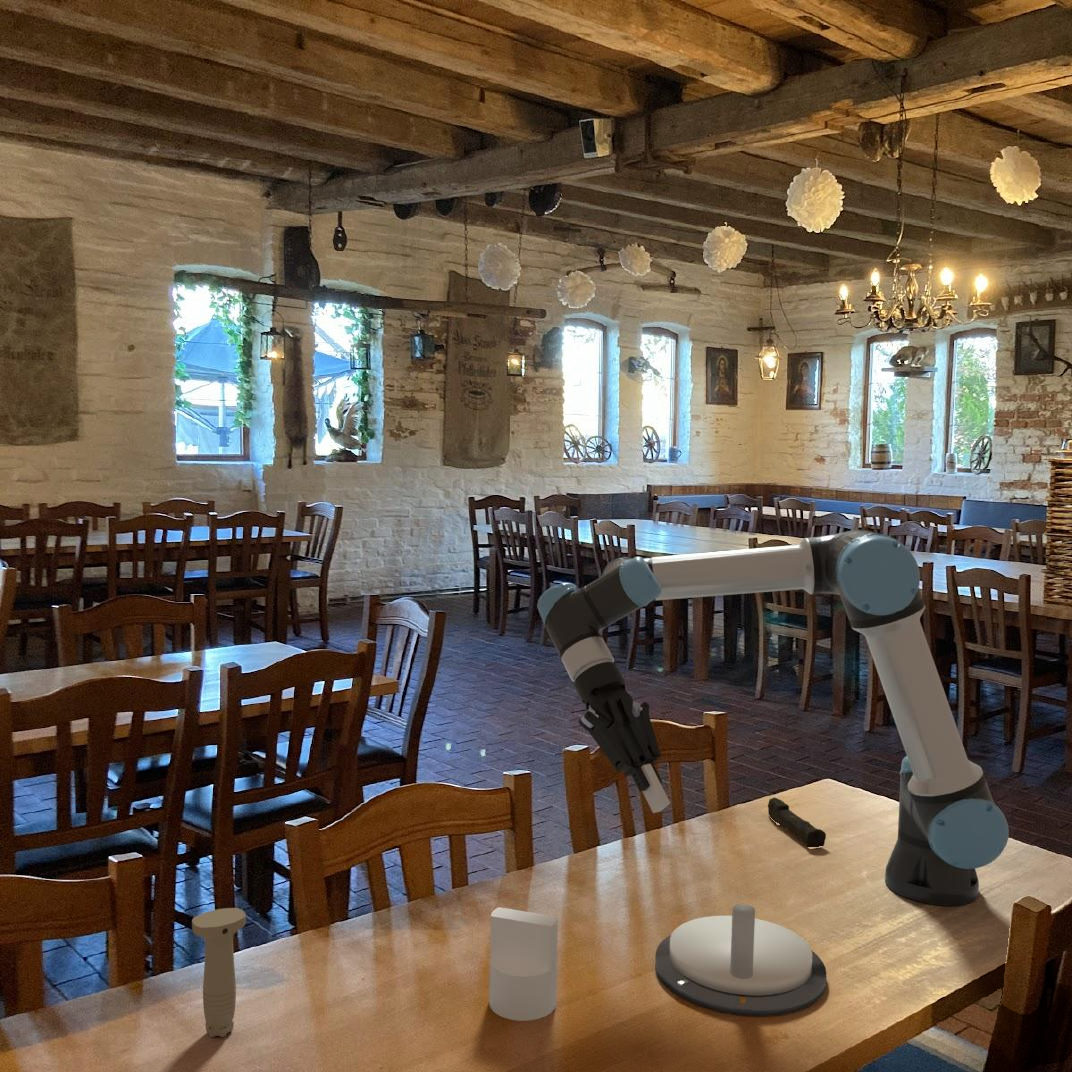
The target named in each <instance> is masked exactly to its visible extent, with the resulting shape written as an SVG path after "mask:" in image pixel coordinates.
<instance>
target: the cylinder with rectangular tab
mask: <svg viewBox="0 0 1072 1072" xmlns="http://www.w3.org/2000/svg"><path fill="white" fill-rule="evenodd" d="M558 928H559V917H558V916H554V915H548V914H542V913H535V912H530V911H523V910H520V909H519V910H517V909H513V908H512V909H511V908H507V907H501V906H498V907H497V908H495V909H494V910H492V912H491V914H490V942H489V943H490V947H489V949H490V951H489V955H490V956H489V1008H490V1009H491V1011H493V1012H494V1014H496V1015H497V1016H500V1017H502V1018H504V1019H508V1020H511V1021H512V1020H513V1021H519V1022H523V1021H524V1022H526V1021H528V1022H529V1021H534V1020H535V1021H536V1020H539V1019H542V1017H543V1018H545V1017H547V1016H548V1014H549V1015H550V1014H552V1013H553V1011H554V1010H555V1009H556V1006H557V986H558V985H557V984H558V983H557V980H558V976H557V975H558V942H559V941H558V936H559V935H558V934H559V931H558V930H559V929H558Z"/></svg>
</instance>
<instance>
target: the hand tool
mask: <svg viewBox="0 0 1072 1072" xmlns="http://www.w3.org/2000/svg"><path fill="white" fill-rule="evenodd" d="M767 803H768V804H767V808H768V810H767V811H768V816H769V815H770V817H771V818H772V819H773V820H774V821H775V822H777V823H779V824H780V825H782V827H783V828H784V829H785V830H787V831H788V832H790V833H791V834H792V835H794V836H795V837H797V838H798V839H799V840H800V839H801V841H802V842H803V843H804V844H805V846H806V848H807V847H819V846H823V847H824V846H825V841H826V840H827V839H826V838H827V834H826V832H825V831H823V830H822V829H819V828H816V827H815V826H813V824H811V823H810V821H806V820H804V819H802V818H801V816H798V815H797V814H795V812H793V811H791V810H790V805H788V803H785V802H784V801H783V800H782V799H779V798H777V797H772V798H770V799H769V800H768V802H767ZM770 817H769V818H770ZM771 818H770V819H771Z"/></svg>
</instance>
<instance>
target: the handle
mask: <svg viewBox="0 0 1072 1072" xmlns="http://www.w3.org/2000/svg"><path fill="white" fill-rule="evenodd" d="M246 915H247V914H246V912H245V911H244V910H243V909H241V908H237V907H226V908H218V909H213V910H209V911H205V912H203V913H200V914H199V915H197V916H196V915H195V916H194V917H193V918H192V920H191V928H192V929H191V930H192V932H193V934H195V935H196V936H197V937H199V938H202V939H204V944H205V945H204V964H203V965H204V966H203V981H202V982H203V983H202V984H203V985H202V1003H203V1013H204V1019H205V1024H204V1025H205V1031H206V1034H208V1036H209V1037H210V1038H212V1037H213V1038H216V1037H215V1036H220V1037H219V1038H221V1037H222V1038H224V1037H223V1036H225V1037H226V1036H227V1035H228V1034H229V1033H228V1032H230V1031H232V1032H233V1030H234V1023H235V1021H234V1017H235V1012H236V1000H237V990H236V989H237V984H236V983H237V982H236V981H237V980H236V969H235V956H234V955H235V953H234V935H235V934H236V933H237V932H238V931H239V930H241V929H242V928H244V927H245V925H246V922H247V921H246V919H247V918H246ZM227 1033H228V1034H227ZM230 1033H231V1032H230ZM226 1034H227V1035H226Z"/></svg>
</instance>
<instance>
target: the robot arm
mask: <svg viewBox="0 0 1072 1072" xmlns="http://www.w3.org/2000/svg"><path fill="white" fill-rule="evenodd" d="M604 567H605V568H604V569H602V573H601V576H600V577H598V578H597V579H595V580H593V581H592V582H590V583H589V584H587V585H585V586H583V587H580V588H578V587H577V585H576V584H574V583H571V582H561V583H559V584H558V585H553V586H552V587H548V589H547V590H545V591H544V592H543V593H542V594H541V595H540V597H539V598H538V599H537V603H536V604H537V605H536V606H537V609H538V613H539V615H540V618H541V620H542V622H543V627H544V629H545V630H546V631H547V634H548V636H549V638H550V640H551V642H552V644H553V646H554V648H555V649H556V651H557V654H558V655H559V658H560V660H561V662H562V664H563V666H564V668H565V670H566V672H567V674H568V676H569V678H570V680H571V681H572V682H574V683H573V687H574V689H575V691H576V693H577V695H578V698H579V700H580V701H581V703H582V704H583V705H585V710H586V712H585V713H584V714H583V715H582V716H581V718H580V719H579V720H578V724H579V725H580V726H581V727H582V728H584V730H586V731H587V732H588V733H589V735H590V736H591V737H592V739H593V740H594V741H595V742H596V744H597V746H599V748H600V750H601V751H602V752H603V753H604V755H605V756H606V757H607V759H608V761H610V763H611V765H612V766H613V767H614V769H615V770H616V771H617V772H623V771H624V773H623V774H624V776H626V777H630V776H631V778H632V779H633V781H634V784H635V785H636V788H637V789H638V790H639V791H640V792H642V793H643V797H645V799H646V801H647V803H648V806H649V808H650V810H651V812H652V814H655V813H660V812H662V811H663V810H664V809H665V808H666V807H668V806H669V804H671V802H670V800H669V798H668V796H667V794H666V791H665V790H664V788H663V786H662V784H663V780H662V778H661V776H660V775H659V771H658V770H657V768H656V765H655V762H657V760H658V759H659V758H661V755H662V754H661V751H660V748H659V744H658V740H657V738H656V734H655V731H654V728H653V724H652V721H651V718H650V704H649V703H648V702H647V701H643V702H642V703H639V702H636V701H634V698H633V697H632V695H630V694H629V692H628V691H627V690H626V681H625V678H624V677H623V674H622V673H621V671H620V668H619V667H618V664H617V663H615V658H614V656H613V655H612V652H611V650H610V649H609V647H608V645H607V644H606V642H605V640H604V638H603V636H602V634H601V631H602V630H605V629H606V628H609V626H611V625H612V624H615V623H616V622H617V621H619V620H622V619H623V618H625V617H627V616H629V615H630V614H632V613H634V612H635V611H637V610H639V609H642V608H643V607H647V606H648V605H649V603H651V602H655V601H665V600H675V599H676V600H677V599H678V600H680V599H689V598H691V599H693V598H700V597H701V598H702V597H704V598H706V597H716V596H717V597H718V596H727V595H728V596H729V595H730V596H731V595H741V594H753V593H754V594H755V593H765V592H766V593H768V592H769V593H770V592H779V591H782V592H783V591H795V590H803V591H805V592H806V593H808V594H809V595H816V594H817V595H820V594H831V595H837V596H840V599H841V602H842V604H843V607H844V610H845V613H846V616H847V618H848V621H849V624H850V627H851V629H852V630H853V631H855V632H857V633H860V634H862V635H863V636H864V637H865V640H866V643H867V646H868V649H869V651H870V653H871V657H872V660H873V662H874V665H875V668H876V672H877V674H878V677H879V679H880V683H881V685H882V689H883V692H884V694H885V696H886V697H885V698H886V700H887V702H888V705H889V709H890V711H891V714H892V718H893V720H894V723H895V726H896V729H897V731H898V734H899V737H900V739H901V744H902V746H903V749H904V751H905V754H906V756H904V757H903V759H902V761H901V765H900V766H901V768H900V771H899V775H900V779H899V782H900V784H899V798H898V799H899V800H898V801H899V804H898V805H899V806H898V823H897V824H898V826H897V827H898V828H897V840H896V841H895V845H894V847H893V849H892V851H891V854H890V856H889V859H888V862H887V864H886V867H885V875H884V876H885V877H884V882H885V885H886V886H887V887H888V888H889V889H890V890H891V891H893V892H894V893H896V894H898V895H900V896H902V897H904V898H906V899H908V900H909V899H910V900H913V901H917V902H920V903H925V904H929V905H934V906H935V905H938V906H961V905H968V904H970V903H973V902H974V901H976V900H977V899H978V897H979V890H980V887H979V886H980V882H979V878H978V874H977V870H976V869H979V868H982V867H985V866H987V865H989V864H991V863H992V862H994V861H996V860H997V859H998V858H999V857H1000V856H1001V854H1002V852H1003V851H1004V849H1005V848H1006V846H1007V844H1008V841H1009V834H1010V833H1009V832H1010V831H1009V825H1008V822H1007V819H1006V816H1005V814H1004V813H1003V812H1002V809H1000V807H999V806H998V805H996V803H995V802H994V800H993V796H992V793H991V791H990V788H989V785H988V782H987V779H986V777H985V773H984V771H983V767H981V766H980V765H979V764H977V763H975V762H972V761H971V760H969V757H968V756H967V753H966V750H965V747H964V744H963V742H962V738H961V736H960V733H959V729H958V727H957V724H956V721H955V719H954V715H953V712H952V709H951V707H950V704H949V701H948V699H947V698H948V697H947V695H946V692H945V690H944V686H943V684H942V681H941V678H940V675H939V672H938V669H937V666H936V664H935V661H934V658H933V655H932V652H931V650H930V649H931V648H930V646H929V643H928V641H927V638H926V635H925V632H924V629H923V626H922V623H921V617H922V615H923V613H924V612H925V610H926V604H925V601H924V598H923V595H922V592H921V590H920V582H921V575H920V574H921V573H920V568H919V565H918V562H917V561H916V558H915V557H914V554H913V553H912V552H911V550H909V548H907V546H906V545H904V544H903V543H902V542H901V541H900V540H897V539H896V538H894V537H892V536H889V535H887V534H886V535H885V534H881V533H877V532H874V531H871V530H867V529H854V530H849V531H844V532H843V531H842V532H839V533H834V534H827V535H822V536H820V535H819V536H813V537H804V538H803V539H802V540H801V541H800V542H799V543H798V544H791V545H781V546H779V545H778V546H768V547H757V548H756V547H755V548H745V549H744V548H743V549H734V550H732V549H731V550H722V551H712V552H711V551H710V552H700V553H699V552H697V553H688V554H687V553H686V554H677V555H676V554H675V555H664V556H652V557H642V556H635V557H633V558H630V557H620V558H616V559H614V560H611V561H610V562H609V563H608V564H607V565H606V566H604Z"/></svg>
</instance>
